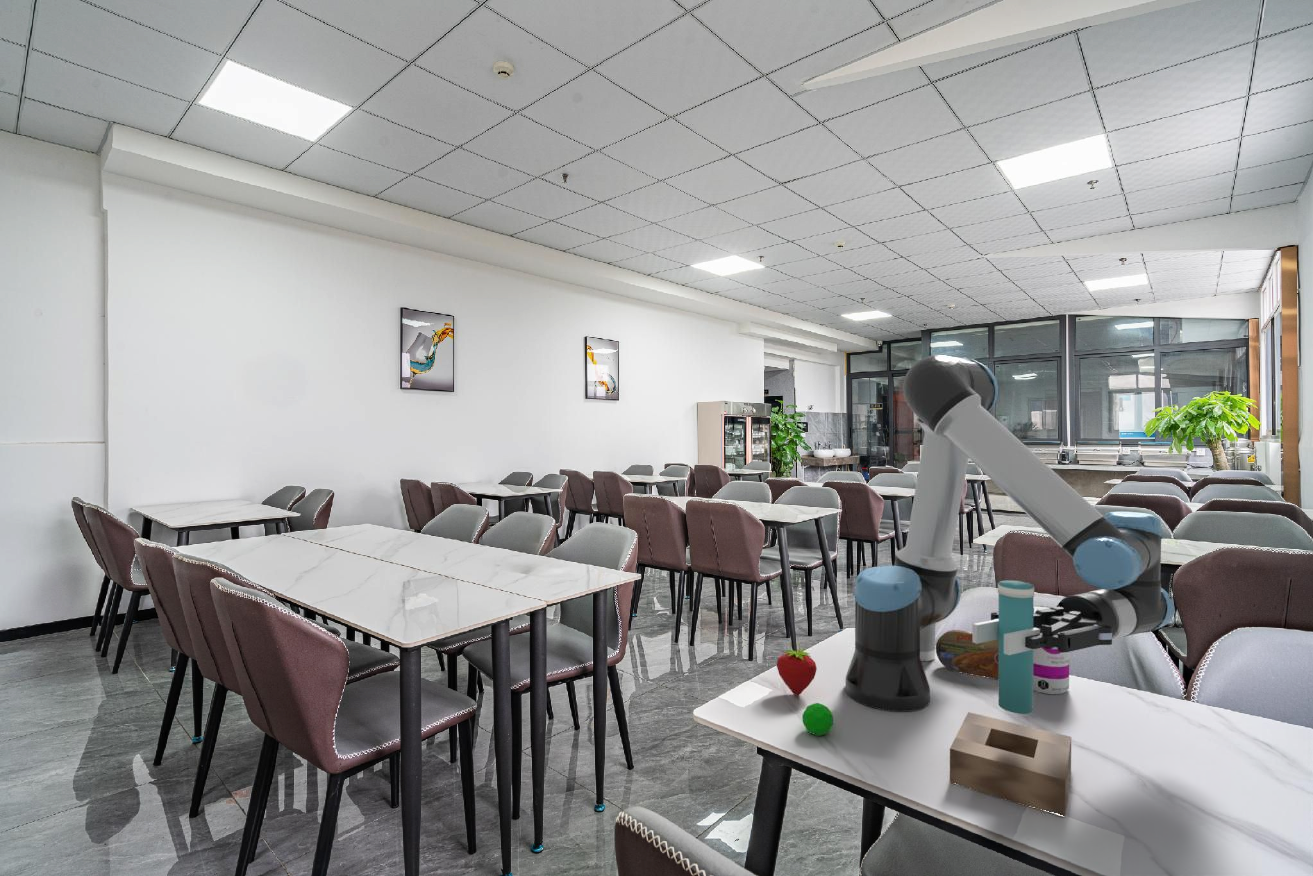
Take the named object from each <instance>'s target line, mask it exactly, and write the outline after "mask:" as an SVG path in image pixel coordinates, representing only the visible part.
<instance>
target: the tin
mask: <svg viewBox="0 0 1313 876" xmlns="http://www.w3.org/2000/svg"><path fill="white" fill-rule="evenodd" d="M935 655H936V657H937V658H938V661H939V662H940V663H941V664H942V665H943V666H944V667H945V668H946V669H948V670H950V671H951V672H954V671H955V673H959V672H962V673H961V674H964V673H967V674H966V675H970V674H973V675H972V676H976V675H978V676H977V677H982V676H985V677H984V678H987V677H988V678H989V679H993V678H994V680H999V639H997V640H992V641H988V642H983V643H978V644H976V643H973V642H972V631H968V630H967V631H966V630H960V629H952V630H948V631H946V632H944V633H943V634H941V636H940V637H938V639H937V641H936V642H935Z"/></svg>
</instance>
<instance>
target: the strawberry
mask: <svg viewBox="0 0 1313 876" xmlns="http://www.w3.org/2000/svg"><path fill="white" fill-rule="evenodd" d="M782 653H784V654H782V655H780V656H779V657H778V658H777V661H776V669H777V671H778V675H779V676H780V678H781V680H782V681H783V682H784V684H785V685H786V687H787V688H788V689H789V690H790V691H791V693H792V694H793V695H795V694H797V695H796V696H799V694H800V695H801V694H802V693H803V692H804V691H805V689H807V688H808V687H809V686H810V684H811V683H812V681H814V679H815V676H816V673H817V671H818V669H817V664H816V662H815V660H814V659H813V658H812V656H811V655H810V653H809V652H806V651H804V648H800V641H798V649H797V651H796V650H791V649H786V651H782Z"/></svg>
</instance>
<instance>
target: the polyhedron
mask: <svg viewBox="0 0 1313 876" xmlns="http://www.w3.org/2000/svg"><path fill="white" fill-rule="evenodd" d="M802 723H803V725H804V727H805V729H806V730H807V732H808V733H810V732H811V734H812V733H814V734H813V735H815V734H816V735H815V736H817V735H820V736H823V735H825V733H826V734H828V733H830V731H831V729H832V728H833V725H834V716H833V713H832V711H831V710H830V709H829V707H828V706H826V705H824V704H823V703H819V702H815V703H813V704H812V703H811V704H809V705H808V706H806V708H805V710H804V711H803V713H802ZM822 734H823V735H822Z"/></svg>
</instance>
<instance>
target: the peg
mask: <svg viewBox="0 0 1313 876" xmlns="http://www.w3.org/2000/svg"><path fill="white" fill-rule="evenodd" d="M997 593H998V611H999V679H998V703H997V704H998V707H1000V708H1001V709H1002V710H1004V711H1007V712H1009V713H1014V714H1019V715H1027V714H1032V713H1033V712H1034V690H1033V650H1029V651H1025V652H1021V653H1016V654H1012V655H1007V654H1004V634H1007V633H1012V632H1016V631H1021V630H1026V629H1031V628H1033V605H1034V597H1035V585H1034V584H1031V583H1030V582H1025V581H1020V580H1000V581H998V583H997Z"/></svg>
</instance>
